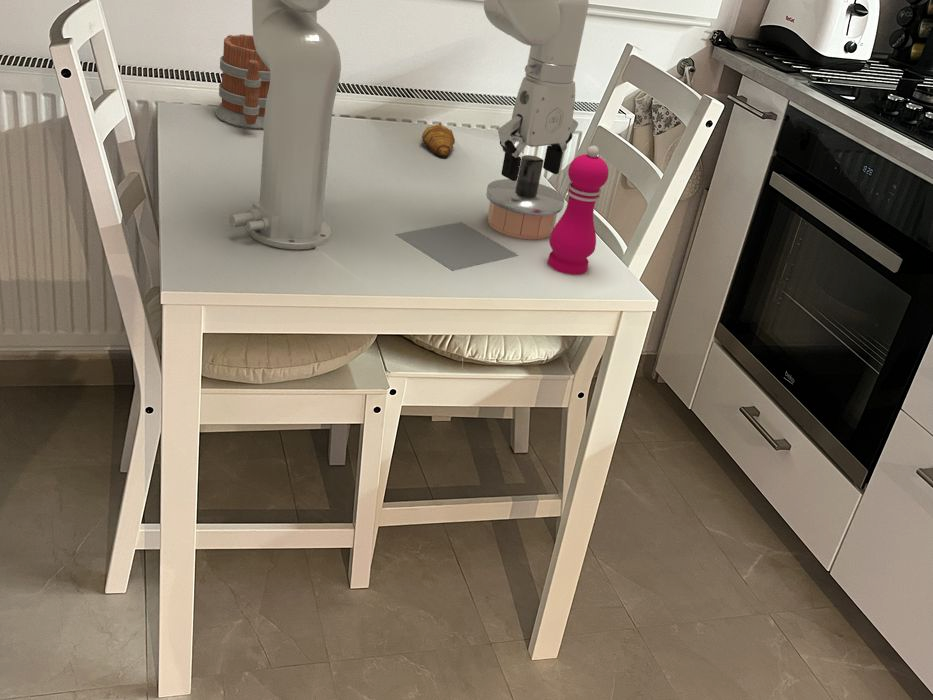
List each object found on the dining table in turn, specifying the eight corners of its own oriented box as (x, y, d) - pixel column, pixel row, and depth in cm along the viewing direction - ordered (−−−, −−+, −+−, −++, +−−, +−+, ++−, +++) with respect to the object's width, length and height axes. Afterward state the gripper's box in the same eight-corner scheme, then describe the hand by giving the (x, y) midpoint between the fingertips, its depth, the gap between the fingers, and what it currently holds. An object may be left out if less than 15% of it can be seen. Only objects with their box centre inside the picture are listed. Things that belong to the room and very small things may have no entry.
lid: (523, 220, 159) (532, 177, 155) (470, 190, 167) (477, 149, 163) (578, 209, 167) (588, 168, 163) (525, 182, 175) (533, 142, 171)
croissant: (460, 161, 195) (464, 137, 193) (427, 159, 194) (430, 134, 191) (445, 138, 207) (449, 115, 204) (414, 136, 205) (417, 112, 202)
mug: (288, 111, 205) (293, 37, 198) (287, 142, 189) (293, 62, 181) (218, 104, 202) (220, 28, 195) (211, 134, 186) (213, 53, 179)
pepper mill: (561, 254, 162) (587, 135, 152) (598, 271, 158) (627, 150, 149) (535, 264, 157) (560, 141, 147) (572, 282, 153) (601, 157, 144)
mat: (451, 272, 149) (452, 270, 149) (394, 236, 158) (395, 234, 158) (518, 257, 158) (518, 255, 158) (460, 224, 167) (461, 221, 166)
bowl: (518, 245, 162) (524, 217, 160) (474, 220, 169) (479, 192, 167) (564, 235, 169) (570, 208, 167) (520, 211, 176) (525, 184, 174)
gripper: (528, 80, 149) (508, 189, 157) (604, 75, 160) (581, 176, 168) (494, 66, 153) (476, 172, 162) (570, 62, 164) (550, 161, 172)
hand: (530, 174), depth 165 cm, fingers open, 9 cm apart
